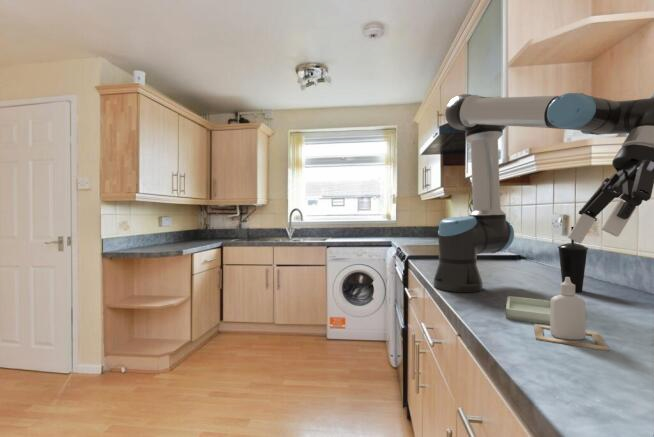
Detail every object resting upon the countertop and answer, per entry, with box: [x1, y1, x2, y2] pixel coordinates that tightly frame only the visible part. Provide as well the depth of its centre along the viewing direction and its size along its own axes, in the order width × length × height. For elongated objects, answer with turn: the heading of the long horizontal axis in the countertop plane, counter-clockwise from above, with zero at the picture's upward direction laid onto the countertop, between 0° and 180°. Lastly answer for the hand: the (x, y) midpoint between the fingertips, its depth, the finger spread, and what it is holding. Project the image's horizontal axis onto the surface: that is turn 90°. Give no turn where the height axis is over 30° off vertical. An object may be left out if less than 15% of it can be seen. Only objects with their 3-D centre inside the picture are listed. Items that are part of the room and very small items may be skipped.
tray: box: [505, 295, 551, 326], centre depth 78 cm, size 10×13×2 cm
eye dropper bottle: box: [549, 277, 587, 341], centre depth 64 cm, size 4×6×12 cm
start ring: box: [533, 323, 610, 352], centre depth 64 cm, size 11×9×1 cm
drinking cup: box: [557, 226, 589, 293], centre depth 100 cm, size 8×8×20 cm
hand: (590, 237), depth 68 cm, fingers open, 13 cm apart
